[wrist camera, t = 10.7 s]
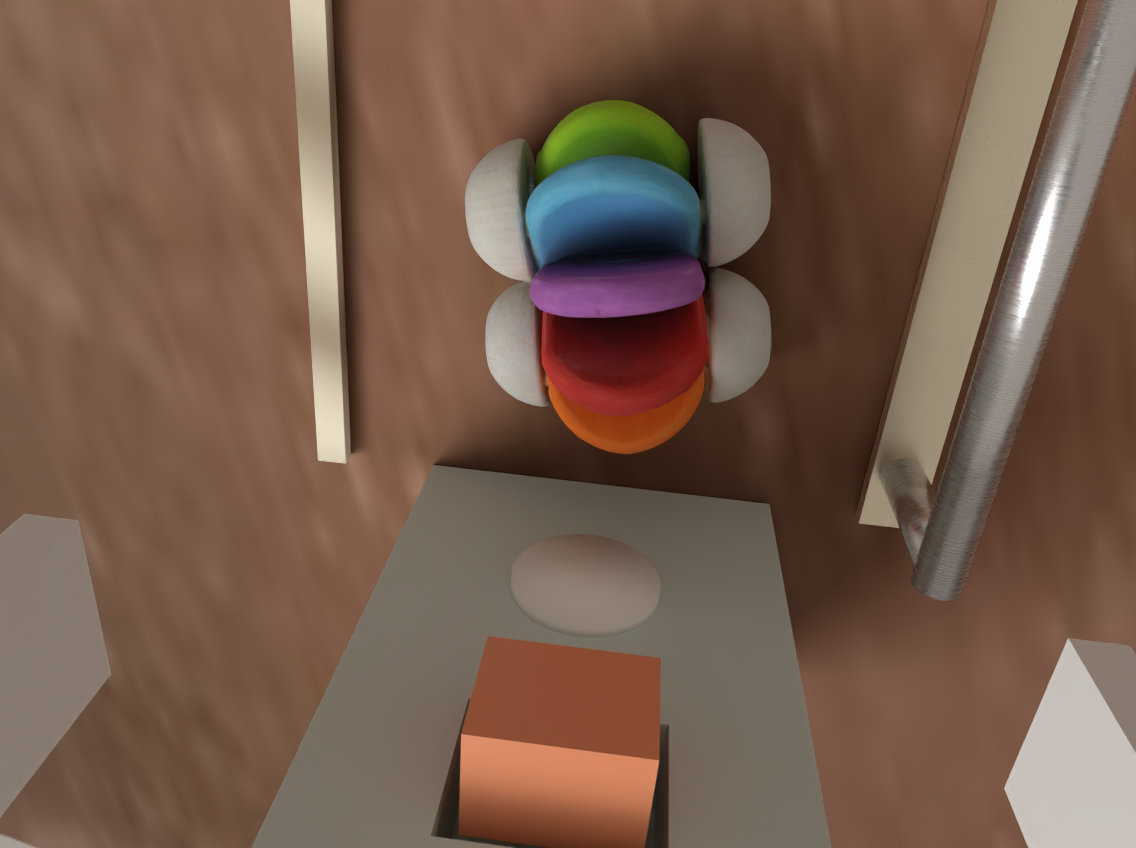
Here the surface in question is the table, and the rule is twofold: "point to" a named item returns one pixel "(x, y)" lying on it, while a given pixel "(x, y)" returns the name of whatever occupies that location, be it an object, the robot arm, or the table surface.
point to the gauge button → (560, 746)
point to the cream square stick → (322, 221)
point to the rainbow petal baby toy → (623, 271)
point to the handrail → (969, 262)
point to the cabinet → (570, 618)
